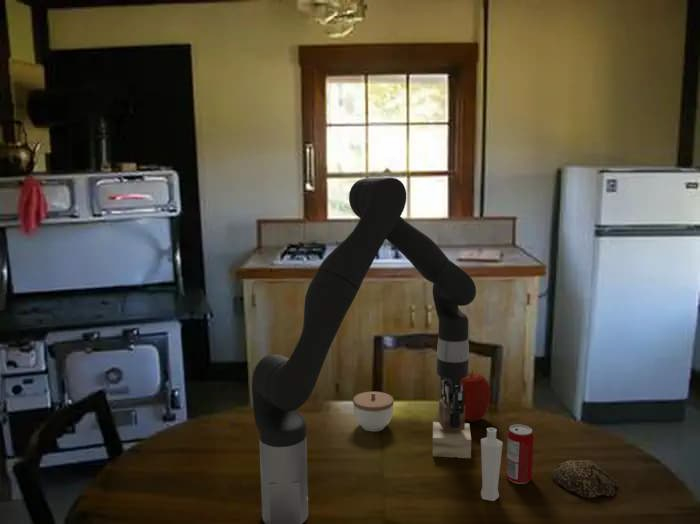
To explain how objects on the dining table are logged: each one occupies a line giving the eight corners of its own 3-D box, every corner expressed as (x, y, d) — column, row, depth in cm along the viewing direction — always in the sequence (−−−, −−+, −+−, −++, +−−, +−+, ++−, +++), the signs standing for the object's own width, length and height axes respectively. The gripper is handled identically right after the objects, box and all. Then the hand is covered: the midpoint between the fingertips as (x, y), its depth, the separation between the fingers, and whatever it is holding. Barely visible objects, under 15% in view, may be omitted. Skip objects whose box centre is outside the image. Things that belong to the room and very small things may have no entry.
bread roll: (544, 476, 143) (544, 455, 142) (588, 465, 147) (589, 445, 146) (583, 505, 131) (584, 483, 130) (630, 493, 135) (631, 471, 134)
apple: (487, 411, 177) (489, 364, 174) (492, 427, 167) (494, 377, 165) (450, 410, 178) (451, 363, 175) (452, 426, 168) (453, 376, 166)
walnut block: (464, 429, 152) (465, 406, 151) (444, 431, 152) (444, 407, 151) (458, 421, 157) (459, 398, 156) (438, 422, 157) (439, 399, 156)
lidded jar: (348, 432, 165) (347, 398, 163) (359, 416, 175) (359, 383, 173) (388, 437, 162) (388, 403, 160) (397, 420, 172) (397, 387, 170)
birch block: (470, 459, 151) (471, 439, 150) (432, 457, 152) (432, 437, 151) (468, 442, 160) (469, 423, 159) (432, 440, 161) (433, 421, 160)
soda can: (534, 476, 142) (536, 425, 140) (527, 487, 138) (530, 435, 135) (510, 470, 145) (511, 420, 143) (502, 480, 140) (504, 430, 138)
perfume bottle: (484, 487, 138) (486, 423, 135) (503, 494, 135) (505, 428, 132) (474, 496, 134) (475, 430, 131) (493, 503, 131) (495, 436, 129)
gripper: (477, 365, 145) (475, 434, 148) (459, 346, 159) (458, 410, 162) (445, 366, 144) (444, 436, 147) (430, 347, 158) (429, 411, 161)
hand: (451, 422), depth 154 cm, fingers closed on walnut block, 5 cm apart
